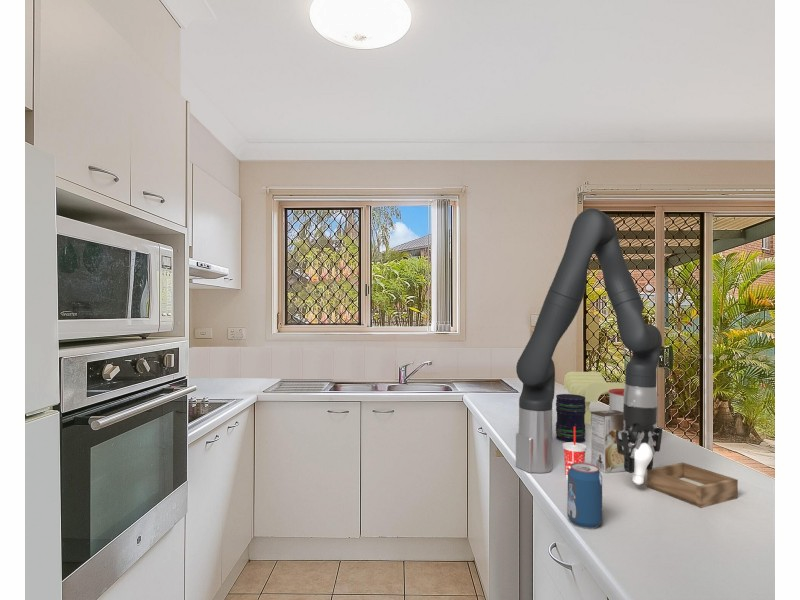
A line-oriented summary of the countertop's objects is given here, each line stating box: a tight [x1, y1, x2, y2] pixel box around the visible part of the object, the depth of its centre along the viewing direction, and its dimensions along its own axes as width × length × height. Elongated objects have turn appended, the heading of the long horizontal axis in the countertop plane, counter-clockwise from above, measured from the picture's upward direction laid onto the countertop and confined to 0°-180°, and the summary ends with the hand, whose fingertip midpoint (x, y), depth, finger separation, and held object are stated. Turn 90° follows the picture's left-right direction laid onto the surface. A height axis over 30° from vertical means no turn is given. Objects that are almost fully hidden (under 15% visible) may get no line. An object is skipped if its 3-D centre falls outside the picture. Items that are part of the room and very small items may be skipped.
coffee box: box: [590, 410, 626, 474], centre depth 138 cm, size 9×6×16 cm
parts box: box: [646, 462, 739, 508], centre depth 121 cm, size 14×14×4 cm
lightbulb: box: [629, 442, 654, 486], centre depth 120 cm, size 6×6×11 cm
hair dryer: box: [563, 371, 625, 425], centre depth 198 cm, size 30×16×18 cm, turn 176°
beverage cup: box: [562, 426, 587, 481], centre depth 129 cm, size 6×6×14 cm
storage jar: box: [555, 393, 586, 444], centre depth 168 cm, size 10×10×15 cm
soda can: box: [567, 462, 603, 530], centre depth 103 cm, size 7×7×12 cm
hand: (638, 470), depth 120 cm, fingers closed on lightbulb, 6 cm apart
